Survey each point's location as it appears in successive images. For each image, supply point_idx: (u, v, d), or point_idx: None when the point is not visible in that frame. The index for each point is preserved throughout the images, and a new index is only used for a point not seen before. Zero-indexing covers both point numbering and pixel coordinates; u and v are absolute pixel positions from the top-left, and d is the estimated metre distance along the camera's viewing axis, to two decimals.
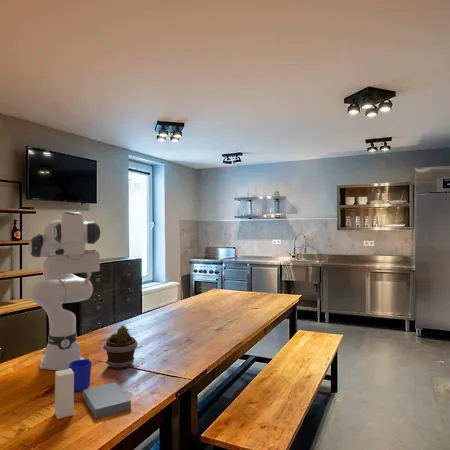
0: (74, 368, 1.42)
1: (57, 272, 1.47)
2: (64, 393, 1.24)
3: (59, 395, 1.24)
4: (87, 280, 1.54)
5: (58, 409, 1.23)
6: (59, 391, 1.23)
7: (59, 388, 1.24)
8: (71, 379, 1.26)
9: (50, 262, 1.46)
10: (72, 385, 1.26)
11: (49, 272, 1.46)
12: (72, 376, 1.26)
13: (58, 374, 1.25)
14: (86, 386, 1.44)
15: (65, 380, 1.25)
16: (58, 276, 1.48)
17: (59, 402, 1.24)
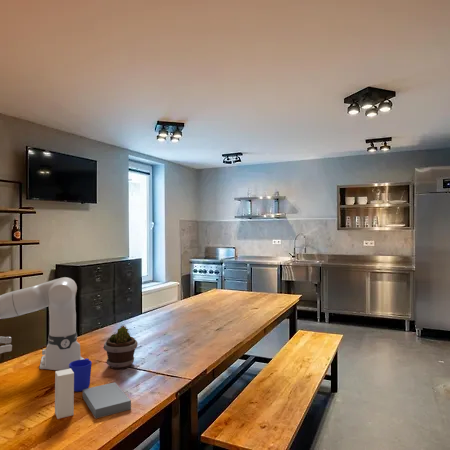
0: (74, 368, 1.42)
1: None
2: (64, 393, 1.24)
3: (59, 395, 1.24)
4: (6, 337, 1.23)
5: (58, 409, 1.23)
6: (59, 391, 1.23)
7: (59, 388, 1.24)
8: (71, 379, 1.26)
9: None
10: (72, 385, 1.26)
11: None
12: (72, 376, 1.26)
13: (58, 374, 1.25)
14: (86, 386, 1.44)
15: (65, 380, 1.25)
16: None
17: (59, 402, 1.24)
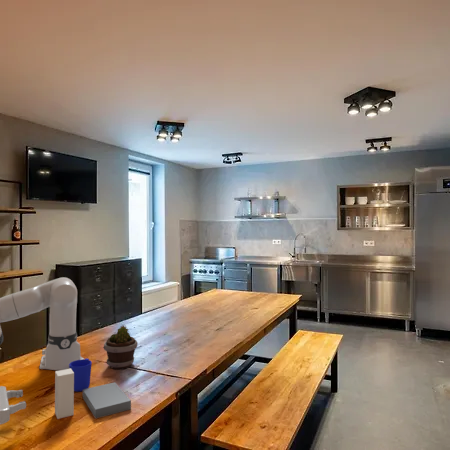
0: (74, 368, 1.42)
1: (6, 405, 1.12)
2: (64, 393, 1.24)
3: (59, 395, 1.24)
4: (18, 390, 1.23)
5: (58, 409, 1.23)
6: (59, 391, 1.23)
7: (59, 388, 1.24)
8: (71, 379, 1.26)
9: None
10: (72, 385, 1.26)
11: (5, 409, 1.09)
12: (72, 376, 1.26)
13: (58, 374, 1.25)
14: (86, 386, 1.44)
15: (65, 380, 1.25)
16: (12, 406, 1.13)
17: (59, 402, 1.24)
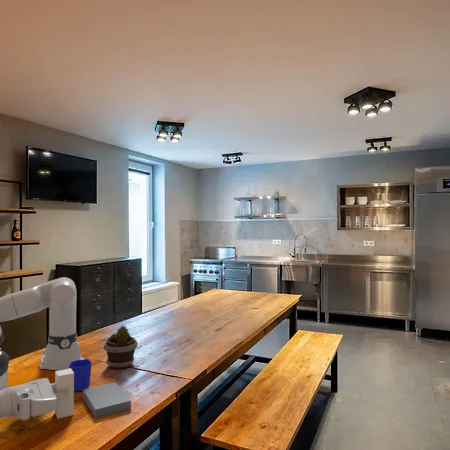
0: (74, 368, 1.42)
1: (53, 395, 1.19)
2: None
3: None
4: None
5: (58, 409, 1.23)
6: (59, 391, 1.23)
7: (59, 388, 1.24)
8: (71, 379, 1.26)
9: (40, 399, 1.14)
10: (72, 385, 1.26)
11: (54, 398, 1.16)
12: (72, 376, 1.26)
13: (58, 374, 1.25)
14: (86, 386, 1.44)
15: (65, 380, 1.25)
16: (57, 393, 1.21)
17: (59, 402, 1.24)
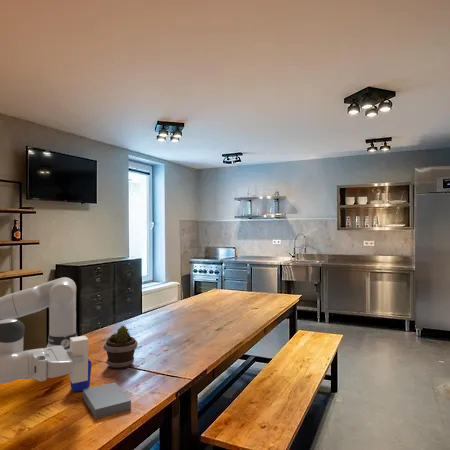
0: None
1: (68, 358, 1.21)
2: None
3: None
4: None
5: (73, 374, 1.25)
6: (74, 356, 1.26)
7: (74, 353, 1.26)
8: (86, 345, 1.28)
9: (56, 361, 1.16)
10: (86, 351, 1.28)
11: (69, 361, 1.18)
12: (86, 342, 1.28)
13: (73, 340, 1.27)
14: (86, 386, 1.44)
15: (80, 345, 1.27)
16: (72, 358, 1.23)
17: (74, 367, 1.26)
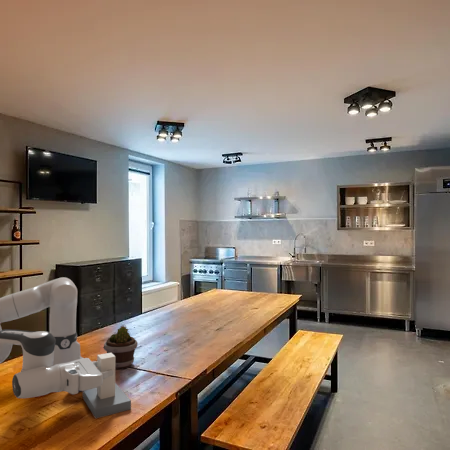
0: None
1: (98, 371, 1.26)
2: None
3: None
4: None
5: (101, 390, 1.31)
6: None
7: (102, 370, 1.31)
8: (113, 362, 1.33)
9: (88, 375, 1.22)
10: (114, 368, 1.33)
11: (100, 375, 1.24)
12: (114, 359, 1.33)
13: (101, 357, 1.32)
14: None
15: (107, 363, 1.32)
16: (102, 372, 1.28)
17: None
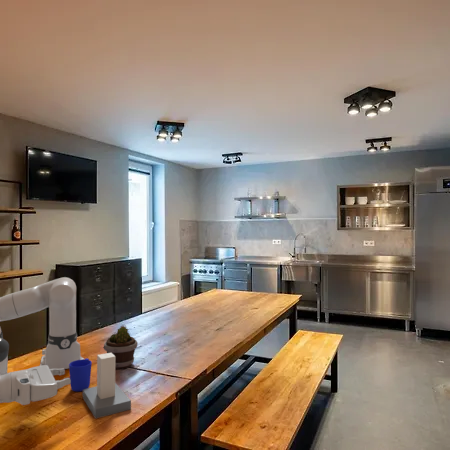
0: (74, 368, 1.42)
1: (53, 380, 1.19)
2: (107, 375, 1.32)
3: (102, 377, 1.31)
4: (60, 369, 1.31)
5: (101, 390, 1.31)
6: (102, 373, 1.31)
7: (102, 370, 1.31)
8: (113, 362, 1.33)
9: (40, 384, 1.14)
10: (114, 368, 1.33)
11: (54, 384, 1.16)
12: (114, 359, 1.33)
13: (101, 357, 1.32)
14: (86, 386, 1.44)
15: (107, 363, 1.32)
16: (58, 381, 1.20)
17: (102, 383, 1.31)
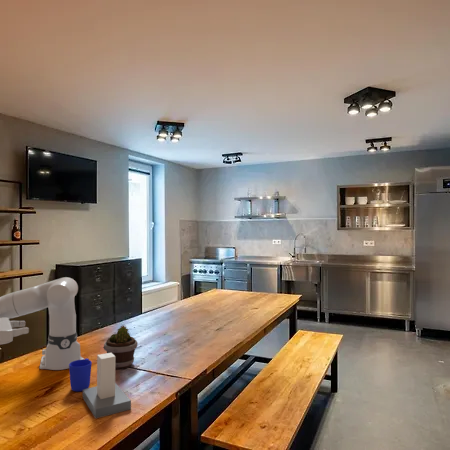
0: (74, 368, 1.42)
1: (9, 328, 1.15)
2: (107, 375, 1.32)
3: (102, 377, 1.31)
4: (20, 321, 1.27)
5: (101, 390, 1.31)
6: (102, 373, 1.31)
7: (102, 370, 1.31)
8: (113, 362, 1.33)
9: None
10: (114, 368, 1.33)
11: (9, 330, 1.13)
12: (114, 359, 1.33)
13: (101, 357, 1.32)
14: (86, 386, 1.44)
15: (107, 363, 1.32)
16: (15, 329, 1.17)
17: (102, 383, 1.31)
